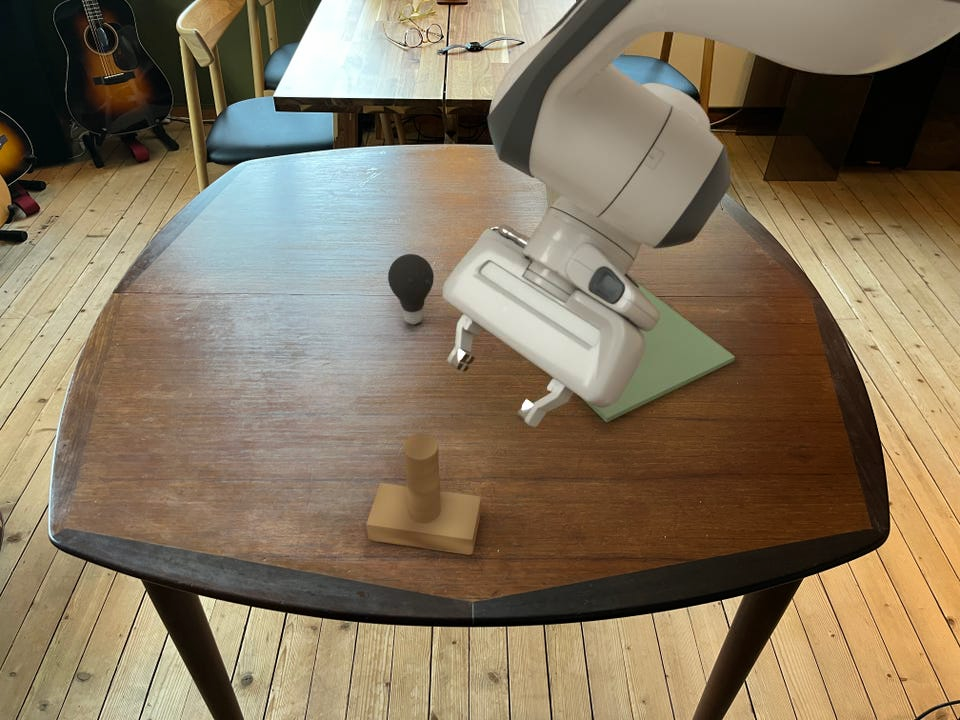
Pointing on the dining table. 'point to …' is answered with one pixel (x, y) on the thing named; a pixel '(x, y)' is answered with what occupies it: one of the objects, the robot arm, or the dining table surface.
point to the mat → (667, 361)
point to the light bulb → (411, 284)
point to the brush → (424, 506)
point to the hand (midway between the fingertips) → (489, 393)
